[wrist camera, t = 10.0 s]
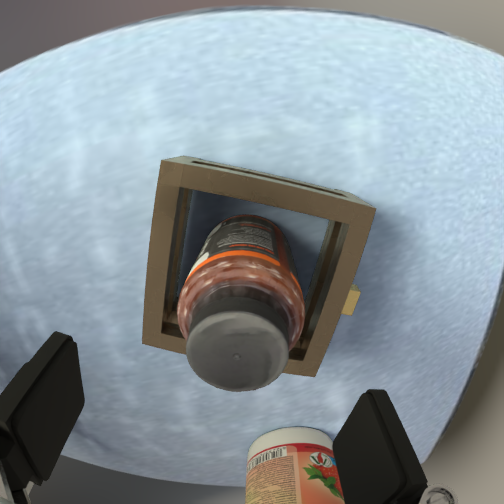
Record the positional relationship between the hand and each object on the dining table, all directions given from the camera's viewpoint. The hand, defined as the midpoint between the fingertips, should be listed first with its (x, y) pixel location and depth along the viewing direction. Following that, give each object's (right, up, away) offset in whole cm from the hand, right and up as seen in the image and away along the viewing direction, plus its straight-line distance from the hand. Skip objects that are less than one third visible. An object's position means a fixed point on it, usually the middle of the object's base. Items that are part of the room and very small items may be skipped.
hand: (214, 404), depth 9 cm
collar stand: (+1, +5, +13) cm, 14 cm away
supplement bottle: (+1, +5, +13) cm, 14 cm away
